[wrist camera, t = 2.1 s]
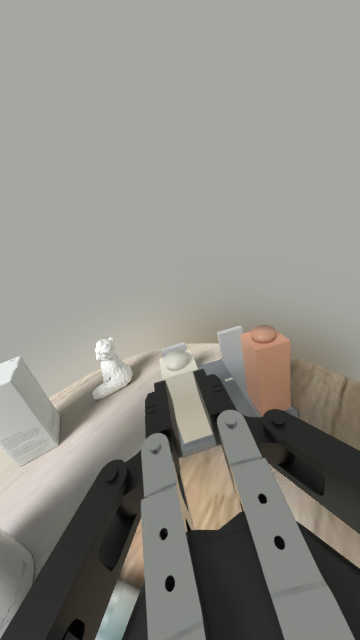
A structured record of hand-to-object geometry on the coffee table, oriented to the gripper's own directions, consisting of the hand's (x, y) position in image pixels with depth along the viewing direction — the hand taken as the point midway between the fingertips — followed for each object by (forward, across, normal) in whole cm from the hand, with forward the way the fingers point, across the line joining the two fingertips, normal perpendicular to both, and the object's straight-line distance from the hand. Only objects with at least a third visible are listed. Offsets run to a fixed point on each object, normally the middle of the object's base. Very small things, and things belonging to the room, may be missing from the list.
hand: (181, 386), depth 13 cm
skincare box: (+20, +28, +20) cm, 40 cm away
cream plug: (+12, 0, +19) cm, 22 cm away
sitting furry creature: (+30, +15, +20) cm, 39 cm away
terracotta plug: (+12, -12, +19) cm, 25 cm away
